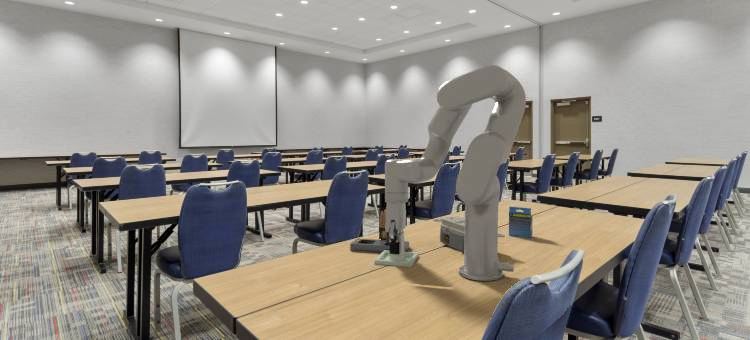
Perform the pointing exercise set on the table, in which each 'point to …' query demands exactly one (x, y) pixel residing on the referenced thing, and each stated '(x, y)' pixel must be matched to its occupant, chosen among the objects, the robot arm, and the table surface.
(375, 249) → the dark grey holder base
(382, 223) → the ammunition clip
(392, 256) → the grey rectangular block
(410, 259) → the tray
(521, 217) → the label tape box
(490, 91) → the robot arm
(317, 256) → the table surface
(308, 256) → the table surface
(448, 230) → the electrical outlet
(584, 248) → the table surface
